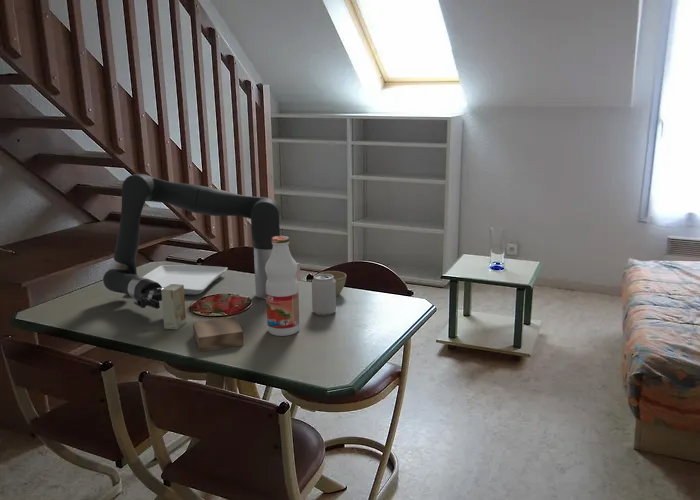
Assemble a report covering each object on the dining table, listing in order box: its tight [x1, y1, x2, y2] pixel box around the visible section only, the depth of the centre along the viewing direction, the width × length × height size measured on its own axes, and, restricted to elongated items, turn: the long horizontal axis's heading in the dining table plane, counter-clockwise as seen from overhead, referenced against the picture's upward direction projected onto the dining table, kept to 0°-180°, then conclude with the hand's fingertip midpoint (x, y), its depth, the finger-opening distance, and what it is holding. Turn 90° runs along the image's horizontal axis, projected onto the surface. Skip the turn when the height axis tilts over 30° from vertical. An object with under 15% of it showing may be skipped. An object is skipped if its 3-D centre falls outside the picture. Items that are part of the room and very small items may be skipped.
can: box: [311, 273, 337, 316], centre depth 192 cm, size 8×8×12 cm
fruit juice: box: [265, 235, 301, 337], centre depth 176 cm, size 9×9×28 cm
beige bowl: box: [316, 270, 347, 298], centre depth 209 cm, size 10×10×7 cm
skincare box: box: [161, 284, 187, 330], centre depth 182 cm, size 6×4×12 cm
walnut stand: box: [192, 316, 245, 352], centre depth 172 cm, size 12×12×4 cm
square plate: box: [142, 264, 229, 295], centre depth 222 cm, size 27×27×4 cm
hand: (171, 301), depth 183 cm, fingers open, 8 cm apart
